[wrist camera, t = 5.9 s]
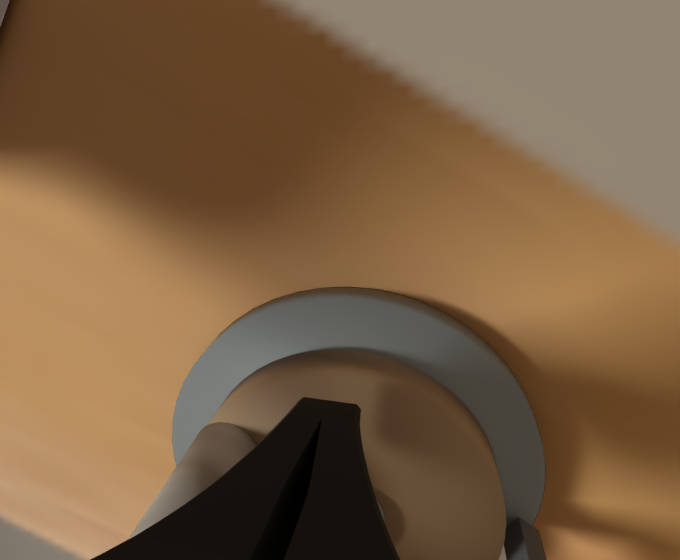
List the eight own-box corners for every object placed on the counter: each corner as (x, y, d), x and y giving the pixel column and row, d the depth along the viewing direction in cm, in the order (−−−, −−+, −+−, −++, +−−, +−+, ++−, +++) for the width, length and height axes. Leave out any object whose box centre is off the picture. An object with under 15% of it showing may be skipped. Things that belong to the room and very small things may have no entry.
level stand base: (131, 458, 18) (5, 614, 13) (305, 207, 14) (230, 280, 8) (385, 626, 19) (371, 838, 14) (623, 442, 15) (742, 645, 9)
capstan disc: (297, 608, 18) (253, 786, 13) (155, 412, 16) (44, 542, 11) (545, 547, 15) (599, 744, 11) (415, 299, 13) (412, 411, 8)
